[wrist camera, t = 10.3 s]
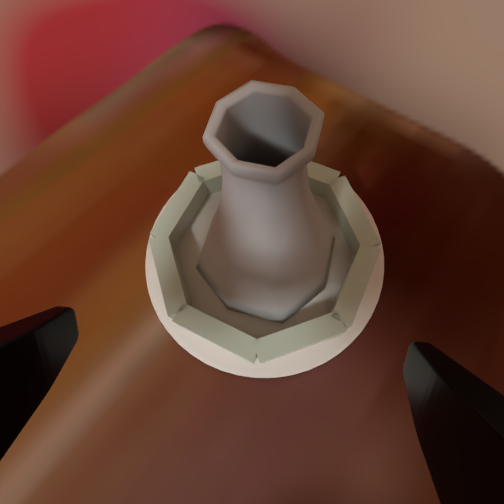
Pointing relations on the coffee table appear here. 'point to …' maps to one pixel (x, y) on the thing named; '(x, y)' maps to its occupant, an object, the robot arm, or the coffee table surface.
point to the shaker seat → (250, 327)
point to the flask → (265, 203)
